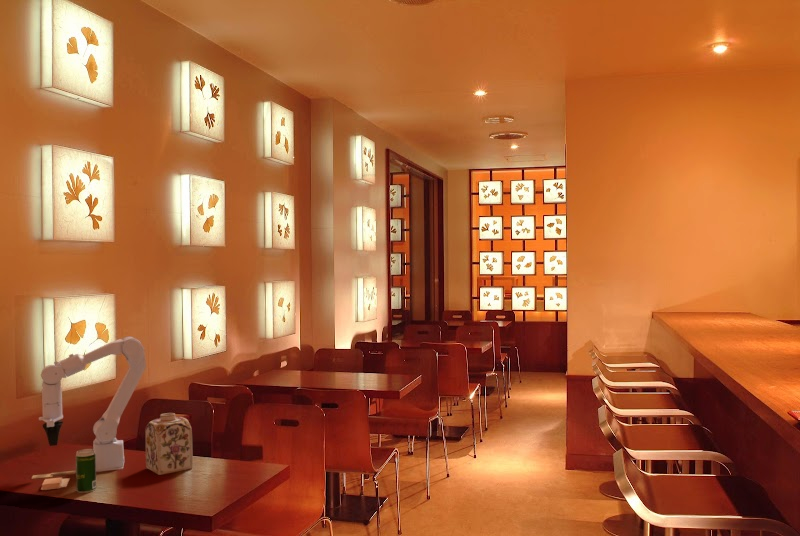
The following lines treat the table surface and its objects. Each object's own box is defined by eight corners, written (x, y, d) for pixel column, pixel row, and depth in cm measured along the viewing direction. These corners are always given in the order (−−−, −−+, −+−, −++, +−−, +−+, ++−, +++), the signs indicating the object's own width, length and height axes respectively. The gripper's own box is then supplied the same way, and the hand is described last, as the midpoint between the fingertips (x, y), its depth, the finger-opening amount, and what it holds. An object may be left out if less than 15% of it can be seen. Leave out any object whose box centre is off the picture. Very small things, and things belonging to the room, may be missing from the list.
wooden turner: (75, 472, 234) (75, 469, 234) (74, 475, 231) (74, 472, 231) (33, 477, 230) (33, 474, 230) (31, 480, 227) (31, 477, 227)
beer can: (98, 488, 217) (97, 448, 217) (93, 493, 211) (92, 452, 211) (80, 489, 216) (79, 449, 216) (74, 494, 211) (72, 453, 211)
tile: (44, 479, 220) (42, 484, 215) (62, 477, 222) (59, 482, 216) (45, 484, 220) (42, 490, 215) (62, 482, 222) (59, 488, 216)
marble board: (69, 478, 227) (69, 478, 227) (66, 487, 218) (66, 486, 218) (45, 481, 225) (45, 480, 225) (40, 490, 216) (40, 489, 216)
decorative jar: (158, 476, 228) (156, 419, 228) (145, 468, 237) (143, 414, 237) (194, 468, 236) (192, 413, 235) (180, 461, 245) (178, 408, 244)
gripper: (41, 400, 236) (42, 441, 236) (35, 407, 223) (36, 451, 223) (64, 398, 239) (66, 439, 239) (60, 405, 225) (61, 449, 225)
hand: (53, 445), depth 231 cm, fingers closed
